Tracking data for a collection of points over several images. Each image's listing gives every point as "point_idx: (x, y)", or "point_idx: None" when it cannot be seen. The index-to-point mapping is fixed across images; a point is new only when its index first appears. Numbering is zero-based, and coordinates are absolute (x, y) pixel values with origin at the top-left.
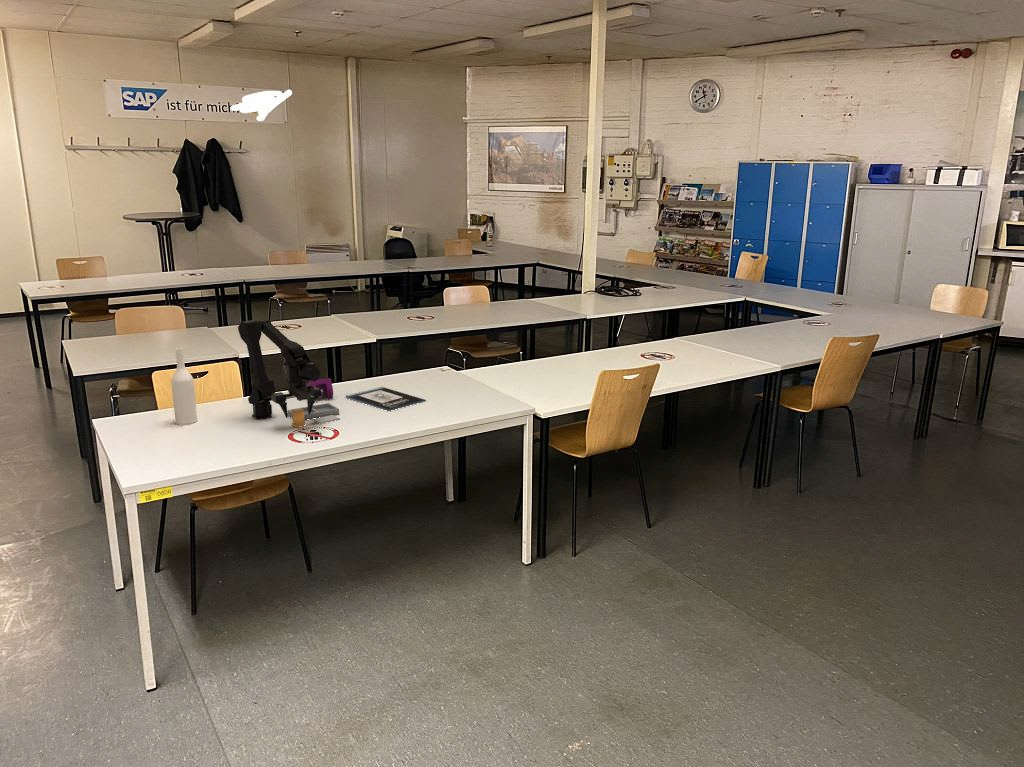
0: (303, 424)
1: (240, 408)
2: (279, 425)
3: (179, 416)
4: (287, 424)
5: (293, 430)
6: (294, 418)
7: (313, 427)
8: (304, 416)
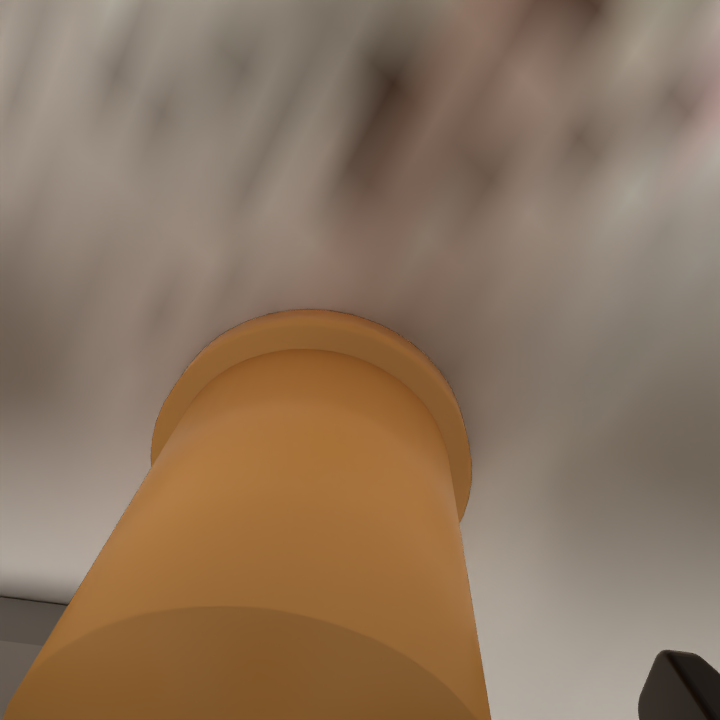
0: (264, 329)
1: None
2: (614, 664)
3: None
4: None
5: (639, 192)
6: (462, 549)
7: (99, 52)
8: None
